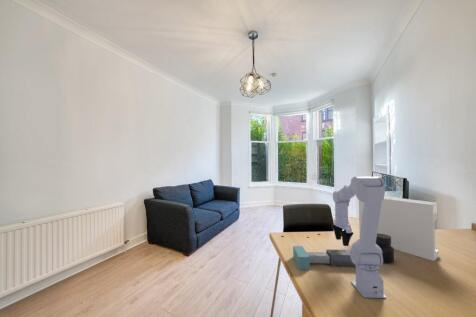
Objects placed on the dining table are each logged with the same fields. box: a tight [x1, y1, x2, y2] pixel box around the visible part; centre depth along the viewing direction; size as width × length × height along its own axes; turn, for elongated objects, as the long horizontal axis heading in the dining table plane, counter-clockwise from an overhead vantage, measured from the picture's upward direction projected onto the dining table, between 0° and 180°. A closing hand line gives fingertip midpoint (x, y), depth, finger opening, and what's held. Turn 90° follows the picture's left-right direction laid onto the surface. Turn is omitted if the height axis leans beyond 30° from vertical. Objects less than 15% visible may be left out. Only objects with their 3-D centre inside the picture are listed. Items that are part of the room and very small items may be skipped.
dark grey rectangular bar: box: [326, 249, 355, 268], centre depth 97 cm, size 6×14×6 cm, turn 87°
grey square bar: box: [306, 251, 330, 264], centre depth 97 cm, size 4×18×4 cm, turn 87°
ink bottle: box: [376, 234, 395, 264], centre depth 100 cm, size 10×9×12 cm
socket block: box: [292, 245, 311, 271], centre depth 98 cm, size 12×5×6 cm, turn 177°
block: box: [358, 195, 440, 262], centre depth 116 cm, size 35×8×28 cm, turn 33°
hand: (342, 242), depth 99 cm, fingers open, 7 cm apart
